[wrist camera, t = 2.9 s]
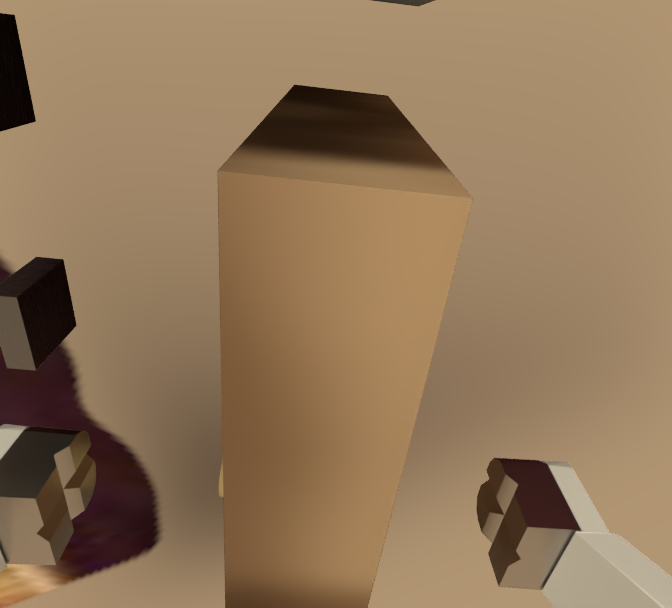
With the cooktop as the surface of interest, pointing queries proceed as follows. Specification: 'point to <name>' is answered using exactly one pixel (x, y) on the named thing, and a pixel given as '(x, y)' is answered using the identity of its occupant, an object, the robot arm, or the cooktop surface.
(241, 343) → the door
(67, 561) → the cooktop surface
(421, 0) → the cabinet
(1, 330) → the hinge clips
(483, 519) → the robot arm
